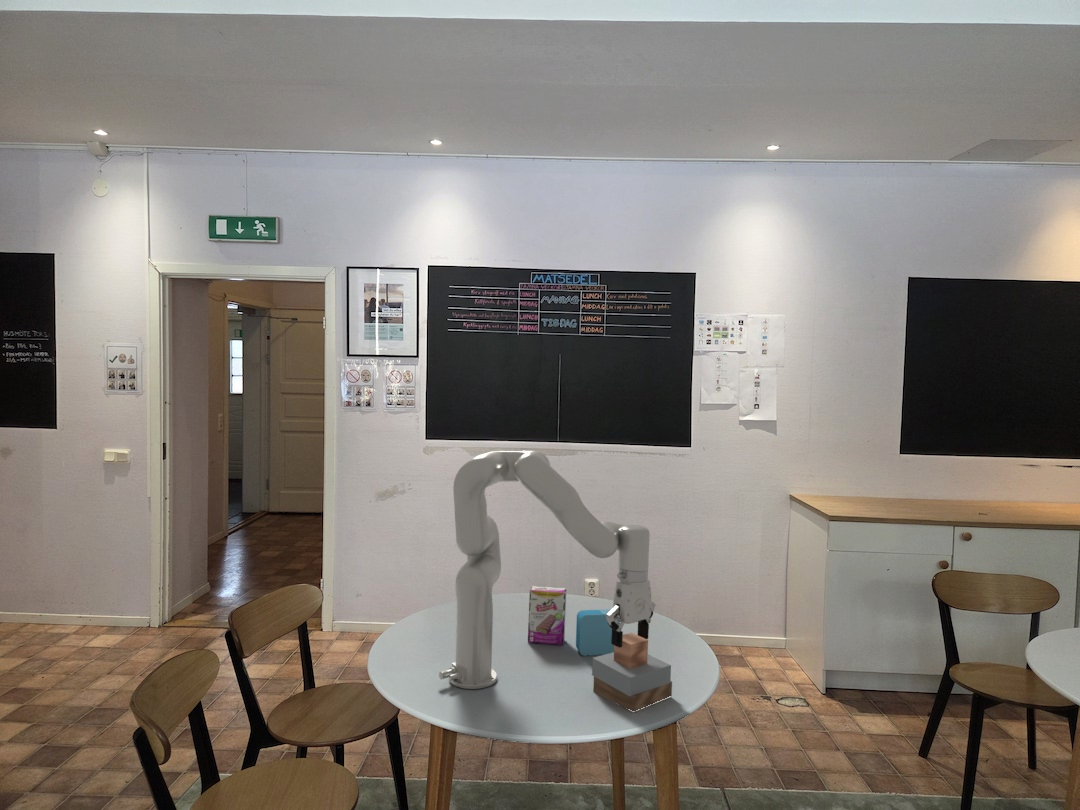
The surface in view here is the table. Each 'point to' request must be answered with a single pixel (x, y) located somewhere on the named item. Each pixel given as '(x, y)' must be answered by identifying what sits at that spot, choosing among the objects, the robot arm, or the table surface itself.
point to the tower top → (631, 674)
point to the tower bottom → (635, 700)
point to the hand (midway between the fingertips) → (629, 641)
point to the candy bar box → (547, 615)
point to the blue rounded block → (593, 633)
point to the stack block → (632, 651)
